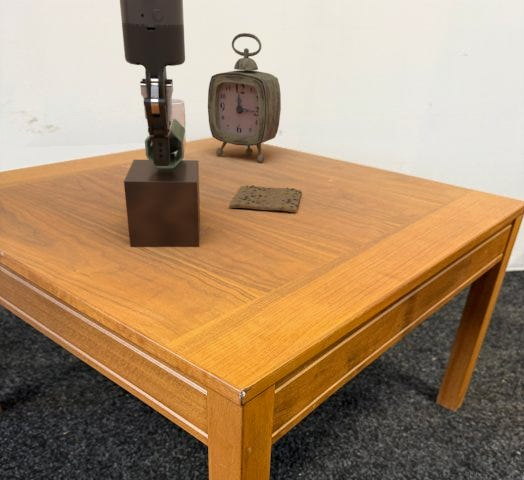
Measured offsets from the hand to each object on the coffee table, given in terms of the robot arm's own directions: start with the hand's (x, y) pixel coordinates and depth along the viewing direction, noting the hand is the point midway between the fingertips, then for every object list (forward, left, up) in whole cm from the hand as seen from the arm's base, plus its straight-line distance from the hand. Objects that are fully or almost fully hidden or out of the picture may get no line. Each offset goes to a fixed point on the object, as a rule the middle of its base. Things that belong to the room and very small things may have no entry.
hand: (162, 164), depth 77 cm
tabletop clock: (+15, +53, -11) cm, 56 cm away
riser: (0, +4, -11) cm, 12 cm away
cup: (0, +9, -2) cm, 9 cm away
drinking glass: (-1, +30, -11) cm, 32 cm away
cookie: (+17, +20, -11) cm, 28 cm away
